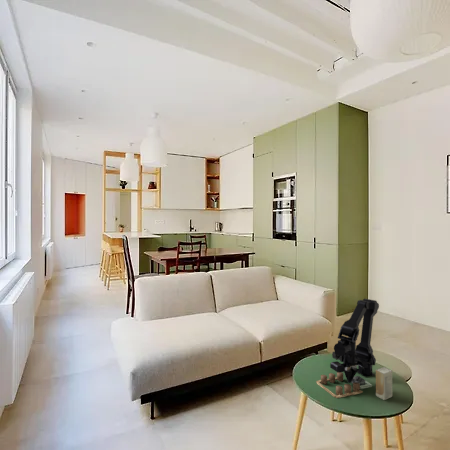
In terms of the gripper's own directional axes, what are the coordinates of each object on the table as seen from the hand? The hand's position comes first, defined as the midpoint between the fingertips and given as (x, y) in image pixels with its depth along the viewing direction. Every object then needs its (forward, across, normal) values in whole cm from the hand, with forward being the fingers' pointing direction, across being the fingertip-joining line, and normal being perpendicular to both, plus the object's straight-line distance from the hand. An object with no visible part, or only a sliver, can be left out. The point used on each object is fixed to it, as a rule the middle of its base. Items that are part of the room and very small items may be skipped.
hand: (348, 382), depth 147 cm
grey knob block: (+2, -5, 0) cm, 6 cm away
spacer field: (+2, +6, 0) cm, 6 cm away
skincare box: (+2, -8, +13) cm, 15 cm away
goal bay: (+2, -6, 0) cm, 7 cm away
